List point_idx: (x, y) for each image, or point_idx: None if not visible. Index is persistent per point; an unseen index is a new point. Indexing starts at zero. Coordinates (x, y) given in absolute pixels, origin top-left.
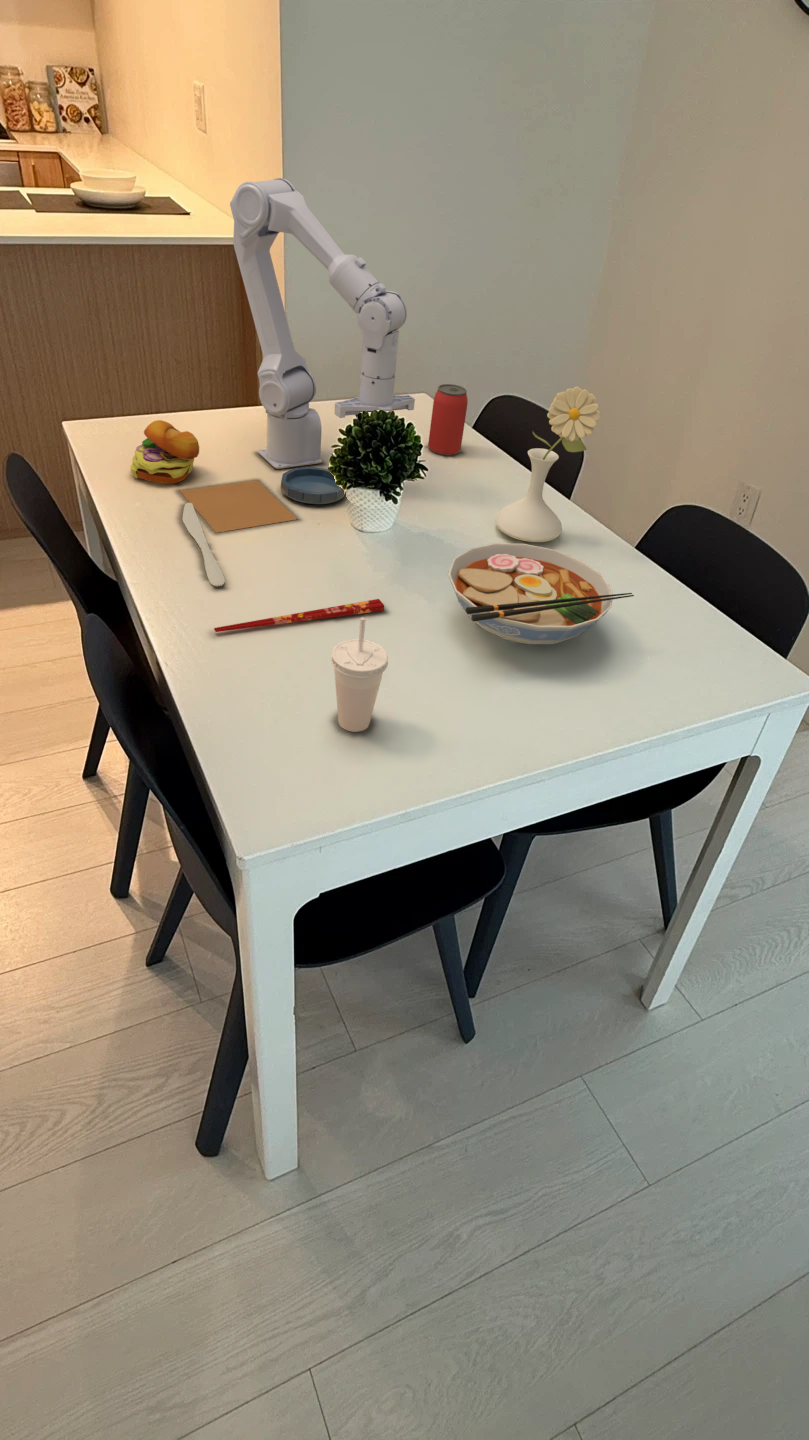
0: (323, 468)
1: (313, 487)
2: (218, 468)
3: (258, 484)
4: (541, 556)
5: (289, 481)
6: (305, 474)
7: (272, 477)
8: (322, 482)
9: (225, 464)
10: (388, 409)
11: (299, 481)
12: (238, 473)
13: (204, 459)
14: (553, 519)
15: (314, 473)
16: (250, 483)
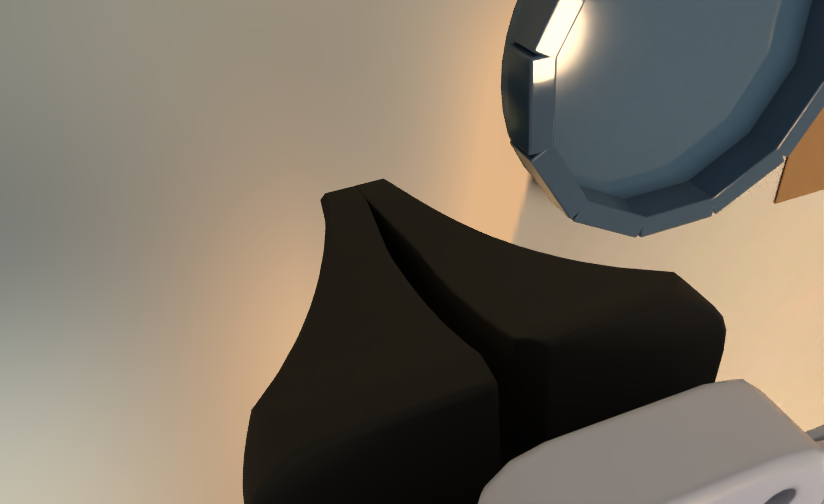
0: (577, 216)
1: (681, 48)
2: (813, 298)
3: (796, 164)
4: None
5: (740, 132)
6: (642, 197)
7: (706, 230)
8: (607, 106)
9: (776, 328)
10: (654, 490)
11: (699, 130)
12: (787, 263)
13: (803, 356)
14: None
15: (608, 197)
16: (813, 175)
